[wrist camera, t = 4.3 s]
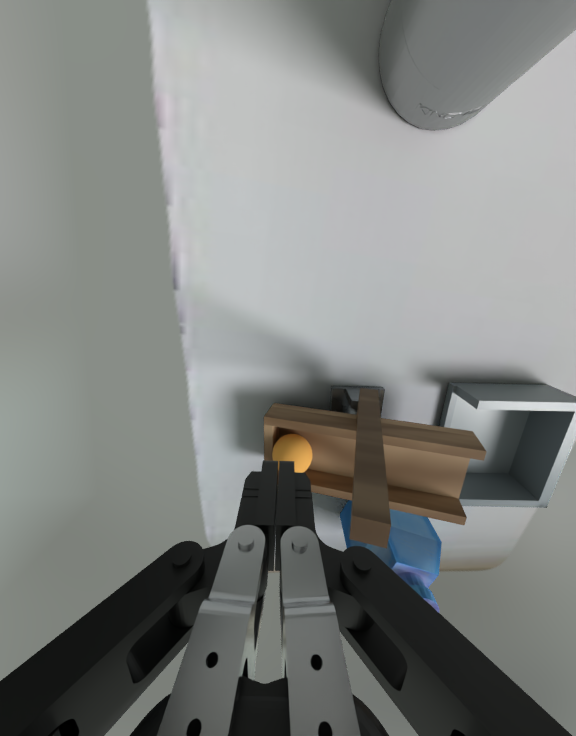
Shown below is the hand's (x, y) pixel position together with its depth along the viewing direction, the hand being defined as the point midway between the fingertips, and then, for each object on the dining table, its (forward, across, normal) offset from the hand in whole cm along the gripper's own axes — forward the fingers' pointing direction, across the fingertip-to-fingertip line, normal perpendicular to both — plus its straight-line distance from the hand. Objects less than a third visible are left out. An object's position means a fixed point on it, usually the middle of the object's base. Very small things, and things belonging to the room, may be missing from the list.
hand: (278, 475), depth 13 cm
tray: (+14, -21, +6) cm, 26 cm away
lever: (+11, -7, +5) cm, 14 cm away
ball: (+10, -1, +6) cm, 12 cm away
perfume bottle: (+14, -11, +16) cm, 24 cm away
